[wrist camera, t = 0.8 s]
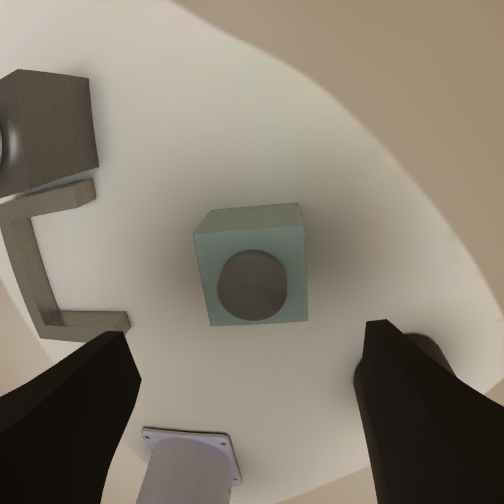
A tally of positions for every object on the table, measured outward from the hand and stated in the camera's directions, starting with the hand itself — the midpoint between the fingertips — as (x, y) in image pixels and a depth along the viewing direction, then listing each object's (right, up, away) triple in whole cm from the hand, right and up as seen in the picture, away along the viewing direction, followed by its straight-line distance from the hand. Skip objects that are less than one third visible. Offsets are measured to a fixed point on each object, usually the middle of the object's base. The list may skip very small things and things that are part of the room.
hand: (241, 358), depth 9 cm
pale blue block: (+1, +3, +8) cm, 9 cm away
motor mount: (-12, +5, +9) cm, 16 cm away
